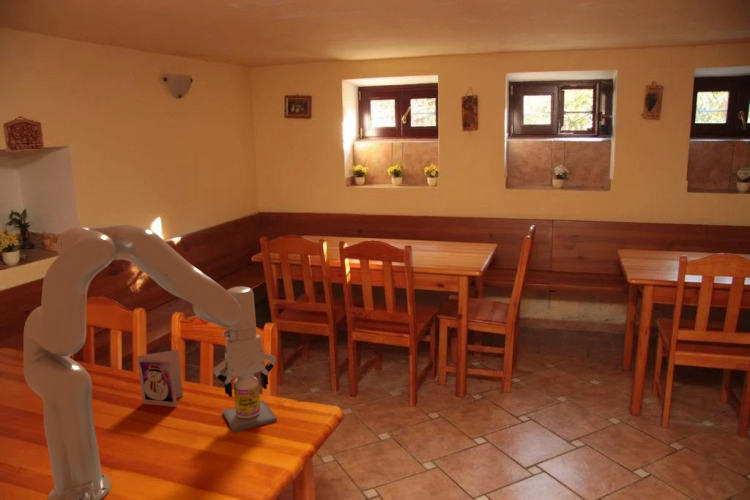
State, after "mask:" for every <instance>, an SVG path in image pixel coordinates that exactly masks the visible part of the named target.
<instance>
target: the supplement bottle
mask: <svg viewBox="0 0 750 500" xmlns="http://www.w3.org/2000/svg"><path fill="white" fill-rule="evenodd" d="M259 383H260V382H259V379H258V378H257V377H255V373H253V374H249V375H244V376H239V377H236V379H235V380H234V382H233V391H234V401H235V402H234V404H235V407H236V415H237V416H238V417H239V418H243V419H248V418H253V417H255V416H257V415H258V414H259V413H260V401H261V400H260V399H261V398H260V387H259V386H260V385H259Z"/></svg>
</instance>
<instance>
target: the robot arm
mask: <svg viewBox="0 0 750 500" xmlns="http://www.w3.org/2000/svg"><path fill="white" fill-rule="evenodd" d="M55 245H56V246H55V247H56V252H57V254H58V257H56V258H55V259H54V261H53V262H52V263H51V265H49V268H48V269H47V271H46V273H45V275H44V278H43V281H42V288H41V289H42V291H41V302H40V303H41V305H40V306H38V307H36V308H35V309H33V310H32V311H31V312H30V314H29V315H28V316H27V318H26V320H25V323H24V327H23V374H24V375H23V376H24V379H25V382H26V384H27V385H28V387H29V388H30V389H31V390H32V391H33V392H35V393H36V395H38V396H39V397H40V398H41V400H42V404H43V424H44V425H43V426H44V433H45V438H46V443H47V449H48V454H49V462H50V467H51V473H52V478H53V485H54V486H53V487H54V488H52V489H51V491H50V492H49V494H48V497H47V500H102V499H103V498H104V497H105V496H106V495H107V494H108V493H109V491H110V489H111V487H112V484H111V483H112V482H111V479H110V477H109V476H108V475H106V474H103V473H102V467H101V460H100V453H99V447H98V441H97V434H96V433H97V432H96V426H95V421H94V413H93V401H92V400H93V399H92V398H93V383H92V378H91V376H90V374H89V372H88V371H87V370H86V368H85V367H83V366H82V365H81V364H80V363H78V362H77V361H76V360H75V359H72V358H71V357H70V356H72V355H75V354H77V353H79V352H80V351H81V349H82V348H83V347H84V345H85V343H86V338H87V302H88V301H87V300H88V298H87V297H88V291H89V286H90V284H91V282H92V281H93V279H94V278H95V277H96V275H98V273H100V272H101V271H103V270H104V269H105V268H107V267H108V266H109V265H110V264H111V263H112V262H113V261H119V260H124V261H128V262H130V263H131V264H133V265H134V266H135V267H137V268H138V269H139V270H140V271H142V272H143V273H145V274H146V275H147V276H148V277H149V278H150V279H152V280H153V281H154V282H155V283H156V284H157V285H158V286H159V287H160V288H162V289H164V290H165V291H166V292H168V293H170V294H171V295H173V296H175V297H178V298H180V299H182V300H184V301H186V302H189V303H190V304H192V310H193V312H194V315H195V316H197V318H199V319H201V320H202V321H205V322H208V323H211V324H213V325H215V326H218V327H221V328H226V330H225V331H222V337H223V338H226V339H225V346H224V360H223V361H222V362H220V363H219V364H217V366H215V367H214V368H212V372H213V374H214V375H215V376H216V378H217V379H218V380H219V381H221V382H222V383H224V393H225V395H227V396H228V397H229V398H233V388H232V382H231V381H232V379H233V378H238V377H239V376H244V375H249V374H253V373H254V374H257V373H260V386H261V387H262V388H263V389H264V390H267V389H268V385H269V375H270V372H271V371H272V369H273V368H274V364H275V362H276V360H277V357H276V356H275V355H272V354H268V353H265V352H264V347H263V341H262V338H261V335H260V334H259V333H257V320H256V307H255V296H254V291H253V289H252V288H250V287H248V286H233V287H230V288H228V289H225V288H224V287H223V286H222V285H221V284H219V283H218V282H217V281H215V280H213V279H212V278H211V277H210V276H208V275H207V274H205V273H204V272H202V271H201V270H200V269H198V268H197V267H196V266H194V265H193V264H191V263H190V262H189V261H188V260H186V258H184V257H183V256H182V255H181V254H180V253H179V252H177V251H176V250H175V249H174V248H173V246H171V245H169V244H168V242H166V241H165V240H164V239H163V238H162V237H161V236H159V235H158V234H157V233H156V232H155V231H153V230H151V229H149V228H146V227H142V226H138V225H134V224H133V225H132V224H119V225H117V224H116V225H97V226H93V225H92V226H75V227H71V228H68V229H66V230H64V231H63V232H62V233H61V234H60V235H59V236H58V239H57V241H56V243H55ZM266 360H268V362H267V364H266ZM224 369H225V371H226V372H225V374H224V375H223V374H221V371H222V370H224Z"/></svg>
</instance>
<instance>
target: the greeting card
mask: <svg viewBox="0 0 750 500" xmlns="http://www.w3.org/2000/svg"><path fill="white" fill-rule="evenodd" d="M136 360H137V367H138V375H139V376H138V377H139V383H140V384H139V385H140V393H141V399H142V404H143V405H153V406H165V407H171V408H172V407H175V408H178V399H177V398H182V397H184V393H183V392H184V391H183V383H182V375H181V366H180V356H179V349H174V350H169V351H168V350H166V351H161V352H156V353H155V352H154V353H148V354H141V355H137V356H136Z"/></svg>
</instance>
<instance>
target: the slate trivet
mask: <svg viewBox="0 0 750 500" xmlns="http://www.w3.org/2000/svg"><path fill="white" fill-rule="evenodd" d="M274 413H275V412H274V411H272V410H271V408H270V407H269V405H268V404H267V403H266V401H265V400H264V399H263V400H260V413H259V414H258V415H257V416H255V417H253V418H248V419H243V418H239V417H238V416H237V415H236V407H232V408H228V409H226V408H225V409H222V415H223V416H224V418H225V420H226V421H227V423H228V425H229V427H230V429H231V431H232V432H233V433H236V432H240V431H244V430H248V429H252V428H256V427H259V426H263V425H266V424H267V425H268V424H271V423H273V422H277V421H278V417H277V416H276V415H275V414H274Z"/></svg>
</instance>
